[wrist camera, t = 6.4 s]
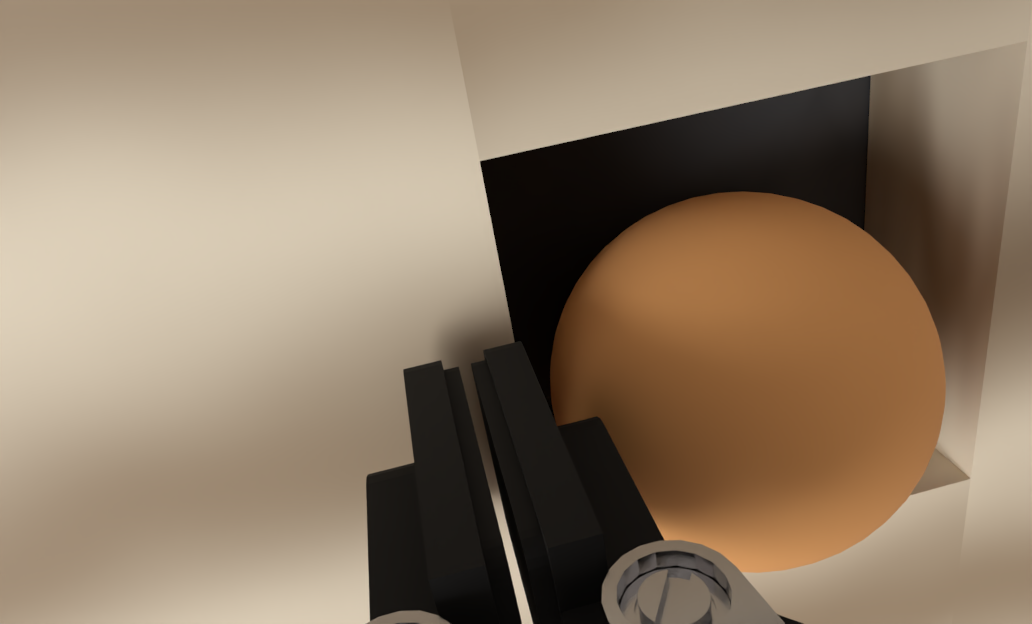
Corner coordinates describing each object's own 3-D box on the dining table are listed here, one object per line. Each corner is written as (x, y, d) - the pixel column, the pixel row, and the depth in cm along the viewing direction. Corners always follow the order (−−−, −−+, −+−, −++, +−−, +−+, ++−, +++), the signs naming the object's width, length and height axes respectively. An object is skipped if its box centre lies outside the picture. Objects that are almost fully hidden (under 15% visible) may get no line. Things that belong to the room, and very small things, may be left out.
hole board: (-450, -143, 10) (-834, -180, 6) (1026, -383, 11) (1278, -503, 8) (126, 758, 18) (79, 931, 15) (931, 531, 20) (1040, 642, 17)
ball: (512, 622, 11) (994, 681, 9) (517, 180, 10) (1038, 180, 9) (573, 482, 17) (877, 508, 15) (580, 197, 16) (898, 199, 15)
